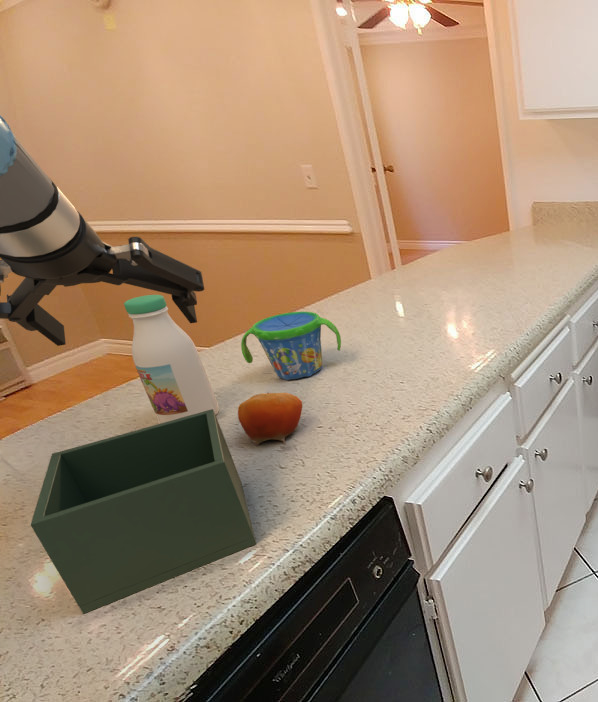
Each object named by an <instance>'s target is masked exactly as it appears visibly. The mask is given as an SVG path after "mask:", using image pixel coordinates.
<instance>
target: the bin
mask: <svg viewBox="0 0 598 702" xmlns="http://www.w3.org/2000/svg"><path fill="white" fill-rule="evenodd" d="M225 438H226V437H225V436H224V433H223V430H222V428H221V424H220V423H219V420H218V417H217V414H216V415H215V412H214V409H211V410H207V411H204V412H200V413H197V414H193V415H190V416H186V417H182V418H179V419H175V420H172V421H168V422H164V423H161V424H160V423H157V424H154V425H150V426H147V427H143V428H140V429H135V430H133V431H129V432H125V433H121V434H117V435H114V436H110V437H107V438H103V439H99V440H96V441H92V442H89V443H86V444H82V445H79V446H75V447H72V448H68V449H65V450H60V451H56V452H53V453H51V456H50V459H49V461H48V465H47V469H46V472H45V476H44V479H43V482H42V486H41V489H40V491H39V495H38V499H37V502H36V505H35V509H34V512H33V516H32V519H31V522H30V527H31V528H32V530H33V532H34V534H35V536H36V537H37V539H38V540H39V542H40V544H41V545H42V547H43V548H44V551H45V552H46V554H47V556H48V557H49V559H50V561H51V562H52V564H53V566H54V568H55V569H56V571H57V573H58V575H59V576H60V577H61V579H62V581H63V583H64V584H65V586H66V588H67V590H68V592H69V593H70V594H71V596H72V598H73V599H74V601H75V603H76V605H77V606H78V608H79V610H80V611H81V613H82V614H88V613H90V612H92V611H94V610H97V609H99V608H102V607H105V606H107V605H109V604H112V603H114V602H117V601H119V600H121V599H124V598H127V597H129V596H131V595H134V594H136V593H139V592H142V591H143V590H146V589H148V588H151V587H154V586H156V585H159V584H162V583H163V582H166V581H169V580H171V579H174V578H176V577H179V576H181V575H183V574H186V573H188V572H190V571H193V570H195V569H198V568H200V567H203V566H205V565H208V564H211V563H213V562H215V561H218V560H220V559H222V558H226V557H228V556H230V555H233V554H235V553H237V552H240V551H242V550H245V549H247V548H250V547H252V546H255V545H257V540H256V536H255V532H254V528H253V524H252V520H251V517H250V512H249V507H248V503H247V499H246V495H245V491H244V488H243V483H242V480H241V478H240V476H239V473H238V470H237V467H236V465H235V462H234V459H233V457H232V454H231V451H230V449H229V447H228V443H227V440H226V439H225Z"/></svg>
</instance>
